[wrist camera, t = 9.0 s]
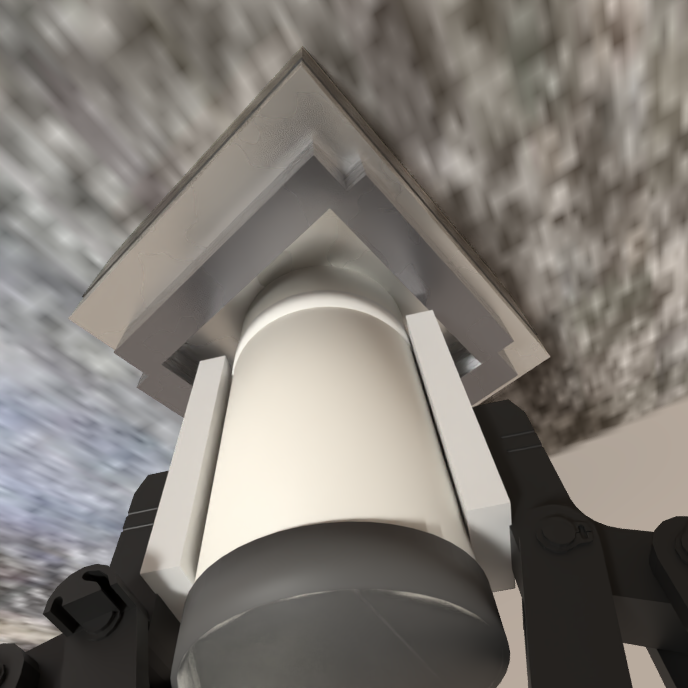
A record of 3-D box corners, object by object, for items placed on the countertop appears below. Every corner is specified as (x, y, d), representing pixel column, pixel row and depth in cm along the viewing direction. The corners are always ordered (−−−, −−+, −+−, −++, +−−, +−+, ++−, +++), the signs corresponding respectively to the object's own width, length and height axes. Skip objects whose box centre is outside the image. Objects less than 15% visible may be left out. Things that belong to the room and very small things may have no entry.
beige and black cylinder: (267, 417, 18) (237, 766, 10) (213, 285, 15) (107, 626, 7) (417, 386, 18) (515, 720, 10) (392, 244, 15) (502, 552, 7)
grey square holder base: (123, 241, 21) (46, 344, 15) (302, 43, 17) (301, 69, 11) (330, 403, 26) (338, 529, 20) (497, 277, 23) (569, 381, 17)
